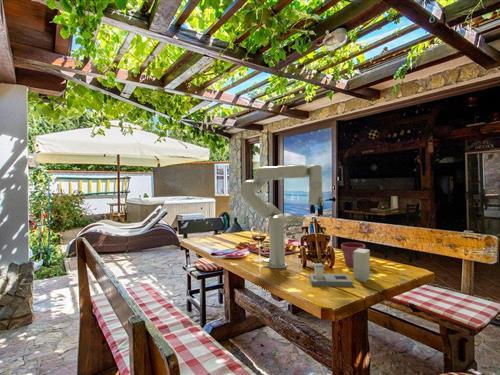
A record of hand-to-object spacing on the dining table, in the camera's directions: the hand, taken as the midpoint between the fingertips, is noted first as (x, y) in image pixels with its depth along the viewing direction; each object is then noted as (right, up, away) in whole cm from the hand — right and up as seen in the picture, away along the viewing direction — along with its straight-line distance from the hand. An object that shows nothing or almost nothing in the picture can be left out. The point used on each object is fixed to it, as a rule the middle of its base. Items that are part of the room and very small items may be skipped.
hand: (316, 214), depth 177 cm
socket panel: (+2, -34, -24) cm, 41 cm away
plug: (-4, -33, -24) cm, 41 cm away
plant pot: (+25, -33, +7) cm, 41 cm away
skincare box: (+20, -33, -19) cm, 43 cm away
